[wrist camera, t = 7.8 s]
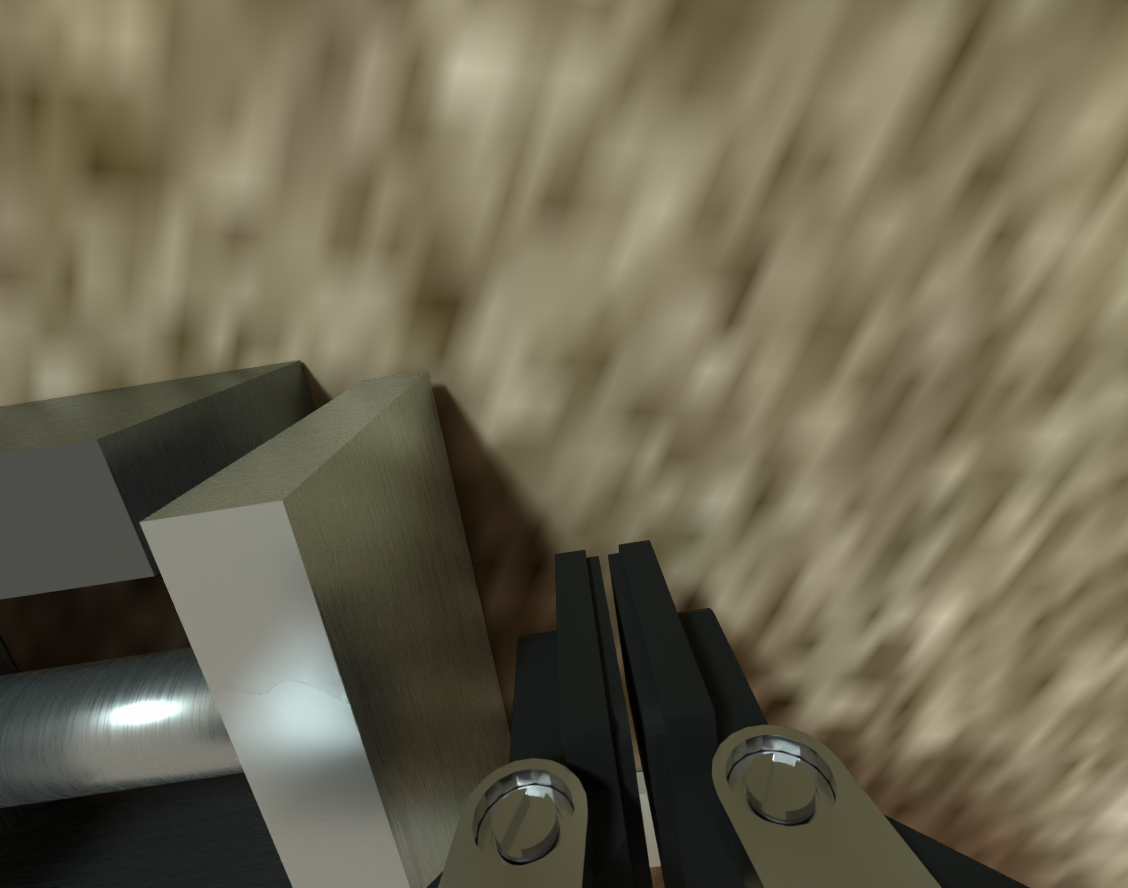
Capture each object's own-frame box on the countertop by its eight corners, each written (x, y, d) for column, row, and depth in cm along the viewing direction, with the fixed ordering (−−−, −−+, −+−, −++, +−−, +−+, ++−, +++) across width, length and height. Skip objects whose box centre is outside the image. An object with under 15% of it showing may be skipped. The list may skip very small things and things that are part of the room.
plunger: (428, 370, 10) (282, 500, 5) (542, 876, 14) (540, 1282, 9) (-60, 445, 10) (-786, 663, 5) (188, 925, 14) (-47, 1357, 9)
